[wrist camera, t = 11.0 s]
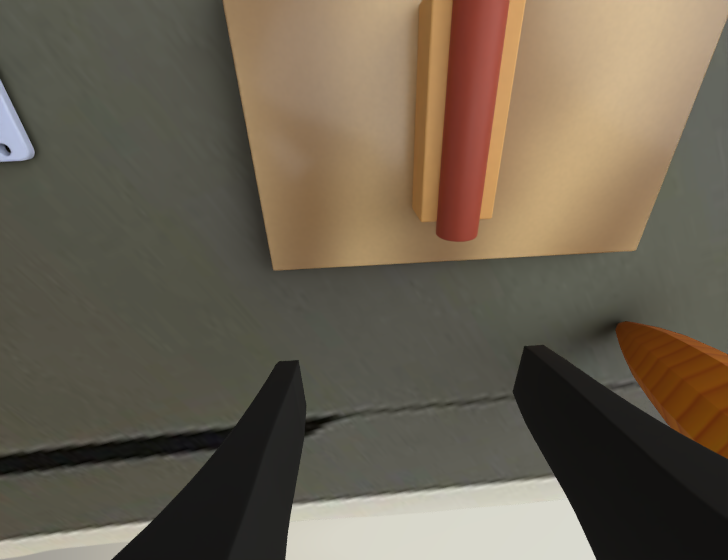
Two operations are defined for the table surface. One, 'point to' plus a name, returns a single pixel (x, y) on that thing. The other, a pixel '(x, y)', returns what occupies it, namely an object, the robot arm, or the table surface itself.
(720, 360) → the carrot
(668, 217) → the table surface
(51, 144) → the table surface
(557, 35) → the oak board
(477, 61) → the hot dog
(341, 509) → the table surface
